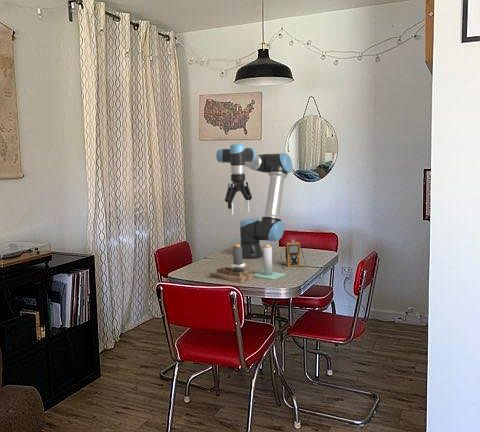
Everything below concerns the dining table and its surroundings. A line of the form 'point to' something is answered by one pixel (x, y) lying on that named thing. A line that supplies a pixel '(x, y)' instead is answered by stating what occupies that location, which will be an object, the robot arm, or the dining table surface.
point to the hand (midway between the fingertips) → (239, 213)
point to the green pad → (273, 276)
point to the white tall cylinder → (267, 259)
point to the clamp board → (232, 275)
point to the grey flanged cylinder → (237, 259)
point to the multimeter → (293, 253)
